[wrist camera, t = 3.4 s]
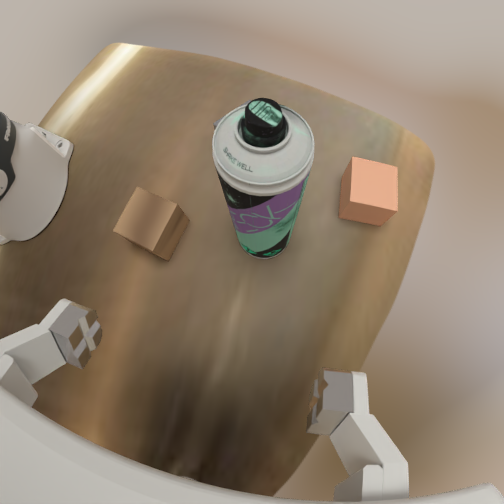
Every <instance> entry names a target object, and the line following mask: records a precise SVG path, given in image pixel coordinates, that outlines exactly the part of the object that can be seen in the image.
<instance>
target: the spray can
mask: <svg viewBox="0 0 504 504" xmlns="http://www.w3.org/2000/svg"><path fill="white" fill-rule="evenodd" d="M212 148H213V159H214V163H215V167H216V170H217V173H218V176H219V180H220V183H221V186H222V189H223V192H224V195H225V199H226V202H227V205H228V208H229V211H230V215H231V218H232V221H233V224H234V227H235V230H236V233H237V237H238V240H239V242H240V245H241V246H242V248H243V249H244V251H246V252H247V253H248V254H249V255H251V256H252V257H255V258H259V259H269V258H273V257H275V256H278V255H279V254H280V253H282V252H283V251H284V249H285V248H286V246H287V245H288V243H289V240H290V237H291V234H292V230H293V227H294V224H295V220H296V217H297V214H298V211H299V207H300V204H301V200H302V197H303V194H304V190H305V187H306V184H307V180H308V177H309V173H310V170H311V166H312V163H313V159H314V137H313V133H312V131H311V128H310V126H309V125H308V123H307V122H306V121H305V120H304V119H303V118H302V117H301V116H300V115H299V114H298V113H297V112H295V111H294V110H292V109H290V108H288V107H286V106H283V105H280V104H278V103H277V102H275V101H273V100H271V99H267V98H258V99H255V100H252V101H251V102H249V103H248V104H246V105H243V106H241V107H238V108H236V109H234V110H233V111H231V112H230V113H228V114H227V115H226V116H225V117H224V118H223V119H222V120H221V121H220V122H219V124H218V126H217V127H216V129H215V132H214V135H213V141H212Z"/></svg>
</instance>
